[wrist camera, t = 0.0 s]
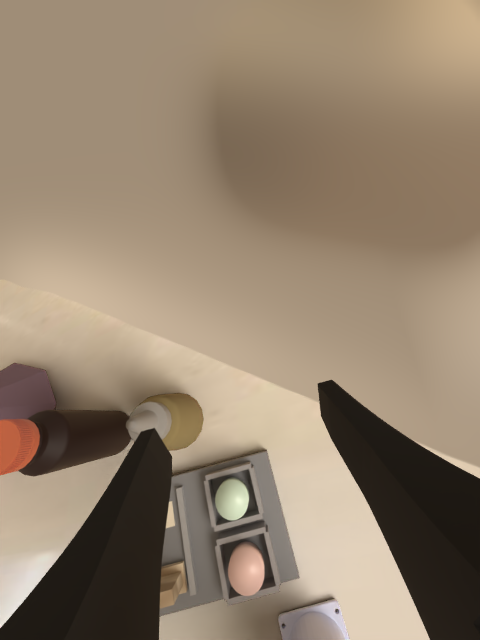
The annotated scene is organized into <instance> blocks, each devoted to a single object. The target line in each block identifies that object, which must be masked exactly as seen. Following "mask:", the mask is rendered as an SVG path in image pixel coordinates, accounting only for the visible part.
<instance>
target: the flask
mask: <svg viewBox="0 0 480 640" xmlns="http://www.w3.org/2000/svg"><path fill="white" fill-rule="evenodd" d="M55 408H56V401H55V398H54V395H53V392H52V389H51V386H50V382H49V379H48V376H47V373H46V370H43V369H38V368H34V367H30V366H26V365H22V364H17V363H13V364H12V365H10V366H8V367H7V368H5V369H3V370H1V371H0V420H3V419H28V418H29V417H30V416H32V415H34V414H36V413H38V412H41V411H45V410H55Z"/></svg>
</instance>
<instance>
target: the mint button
mask: <svg viewBox="0 0 480 640" xmlns="http://www.w3.org/2000/svg"><path fill="white" fill-rule="evenodd" d="M248 502H249V491H248V488H247V486H246V484H245V483H244V482H243V481H242V480H241V479H239V478H236V477H231V478H228V479H226V480H224V481H223V482H222V484H221V485H220V487H219V489H218V490H217V493H216V497H215V504H216V508H217V510H218V512H219V514H220V515H221V516H222V517H223V518H225V519H227V520H237V519H239V518H241V517H242V516H243V515H244V513H245V512H246V510H247V507H248Z"/></svg>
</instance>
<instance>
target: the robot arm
mask: <svg viewBox="0 0 480 640" xmlns="http://www.w3.org/2000/svg"><path fill="white" fill-rule="evenodd" d="M318 392H319V401H320V410H321V417H322V419H323V421H324V423H325V426H326V428H327V430H328V432H329V435H330V437H331V439H332V441H333V443H334V444H335V446H336V448H337V450H338V451H339V453H340V455H341V457H342V458H343V460H344V462H345V464H346V465H347V467H348V469H349V470H350V472H351V474H352V476H353V477H354V479H355V481H356V483H357V484H358V486H359V488H360V489H361V491H362V493H363V495H364V497H365V499H366V500H367V502H368V504H369V506H370V508H371V510H372V512H373V514H374V517H375V519H376V521H377V523H378V525H379V527H380V529H381V531H382V533H383V535H384V538H385V540H386V542H387V544H388V546H389V548H390V551H391V553H392V555H393V557H394V559H395V561H396V563H397V566H398V568H399V570H400V572H401V575H402V577H403V579H404V581H405V583H406V586H407V588H408V590H409V592H410V595H411V597H412V599H413V601H414V603H415V606H416V608H417V610H418V613H419V615H420V617H421V619H422V622H423V624H424V626H425V629H426V631H427V633H428V636H429V638H430V640H480V479H479V478H478V477H476V476H474V475H472V474H470V473H468V472H466V471H464V470H462V469H460V468H458V467H457V466H455V465H453V464H451V463H449V462H448V461H446V460H444V459H442V458H441V457H439V456H437V455H435V454H434V453H432V452H430V451H429V450H427V449H425V448H424V447H422V446H420V445H419V444H417V443H416V442H414V441H413V440H411V439H409V438H408V437H406V436H405V435H403V434H402V433H400V432H399V431H397V430H396V429H394V428H393V427H391V426H390V425H389V424H387V423H386V422H384V421H383V420H381V419H380V418H379V417H377V416H376V415H375V414H374V413H372V412H371V411H370V410H368V409H367V408H366V407H364V406H363V405H362V404H360V403H359V402H358V401H357V400H356V399H354V398H353V397H352V396H351V395H349V394H348V393H347V392H346V391H345V390H343V389H342V388H341V387H340V386H339V385H338V384H336V383H335V382H334V381H333V380H329V381H325V382H322V383H318ZM171 483H172V456H171V454H170V452H169V451H168V449H167V447H166V446H165V444H164V442H163V441H162V439H161V437H160V436H159V434H158V432H157V431H156V429H155V428H152V429H148V430H145V431H141V432H140V434H139V436H138V437H137V439H136V441H135V442H134V444H133V446H132V447H131V449H130V451H129V453H128V454H127V456H126V458H125V459H124V461H123V463H122V464H121V466H120V468H119V470H118V471H117V473H116V474H115V476H114V478H113V479H112V481H111V483H110V484H109V486H108V488H107V489H106V491H105V492H104V494H103V495H102V497H101V499H100V500H99V502H98V503H97V505H96V506H95V508H94V509H93V511H92V512H91V514H90V515H89V517H88V518H87V520H86V521H85V523H84V524H83V526H82V527H81V528H80V530H79V531H78V533H77V534H76V535H75V537H74V538H73V539H72V541H71V542H70V544H69V545H68V546H67V548H66V549H65V550H64V552H63V553H62V554H61V556H60V557H59V558H58V560H57V561H56V562H55V563H54V565H53V566H52V567H51V568H50V569H49V571H48V572H47V573H46V574H45V576H44V577H43V578H42V579H41V581H40V582H39V583H38V584H37V586H36V587H35V588H34V589H33V591H32V592H31V593H30V594H29V596H28V597H27V598H26V599H25V600H24V602H23V603H22V604H21V605H20V606H19V607H18V609H17V610H16V611H15V612H14V613H13V614H12V616H11V617H10V618H9V619H8V620H7V621H6V623H5V624H4V625H3V626H2V627H1V628H0V640H159V614H160V587H161V567H162V555H163V545H164V538H165V530H166V522H167V515H168V507H169V499H170V491H171ZM335 609H338V612H336V611H335ZM278 621H279V626H280V630H281V635H282V639H283V640H350V639H349V636H348V633H347V629H346V626H345V623H344V619H343V616H342V612H341V609H340V606H339V603H338V601H337V600H336V599H332V600H329V601H325V602H321V603H318V604H314V605H311V606H307V607H303V608H300V609H296V610H292V611H289V612H285V613H282V614H280V615H279V617H278ZM283 623H284V624H285V626H284V627H283V626H282V624H283Z"/></svg>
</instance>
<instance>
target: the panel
mask: <svg viewBox="0 0 480 640" xmlns="http://www.w3.org/2000/svg"><path fill="white" fill-rule="evenodd" d="M231 477H236V478H239V479H241V480H242V481H243V482H244V483H245V484H246V486H247V488H248V491H249V502H248V507H247V510H246V512H245V513H244V515H243V516H242V517H241V518H239V519H237V520H227V519H225V518H223V517H222V516H221V515H220V514H219V512H218V510H217V508H216V504H215V497H216V493H217V490H218V489H219V487H220V485H221V484H222V482H223V481H224V480H226V479H228V478H231ZM245 541H248V542H252V543H254V544H255V545H256V546H258V548H259V549H260V550H261V552H262V555H263V558H264V581H263V584H262V586H261V588H260V589H259V591H258V592H256V593H255V594H253V595H251V596H243V595H241V594H239V593H237V592H236V591H235V590H234V588H233V587H232V585H231V583H230V581H229V577H228V566H229V562H230V557H231V554H232V551H233V549H234V548H235V547H236V546H237V545H238V544H239V543H241V542H245ZM181 561H184V565H185V573H186V580H187V588H188V590H187V592H186V593H182V594H179V595H178V597H177V599H176V601H175V603H174V605H171V606H168V607H164V608H160V614H159V616H163V615H166V614H170V613H174V612H177V611H181V610H185V609H188V608H192V607H195V606H199V605H203V604H206V603H210V602H214V601H217V600H221V599H224V600H227V606H230V605H233V604H237V603H241V602H244V601H248V600H252V599H255V598H259V597H262V596H266V595H270V594H273V593H277V592H280V588H279V585H281V583H283V582H286V581H290V580H294V579H297V578H299V573H298V569H297V565H296V561H295V557H294V553H293V550H292V546H291V542H290V538H289V534H288V530H287V526H286V523H285V519H284V515H283V511H282V507H281V503H280V499H279V496H278V492H277V488H276V484H275V480H274V476H273V472H272V469H271V465H270V461H269V457H268V453H267V450H265V451H261V452H257V453H254V454H250V455H246V456H243V457H239V458H235V459H232V460H228V461H224V462H221V463H217V464H213V465H210V466H206V467H202V468H198V469H195V470H191V471H187V472H184V473H180V474H176V475H173V476H172V483H171V491H170V499H169V507H168V515H167V522H166V530H165V538H164V545H163V555H162V567H163V566H166V565H170V564H173V563H177V562H181Z"/></svg>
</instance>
